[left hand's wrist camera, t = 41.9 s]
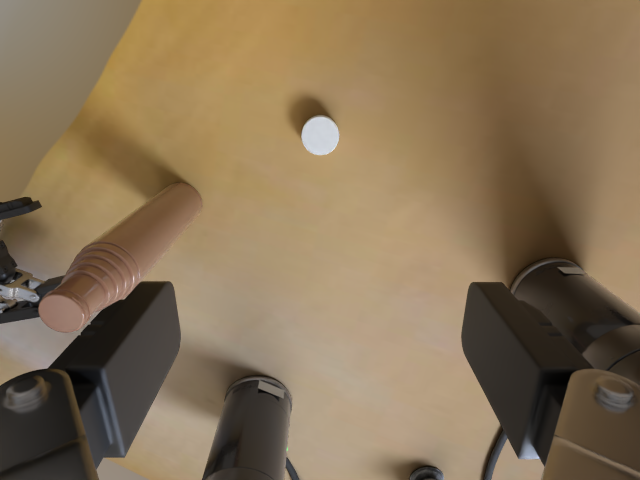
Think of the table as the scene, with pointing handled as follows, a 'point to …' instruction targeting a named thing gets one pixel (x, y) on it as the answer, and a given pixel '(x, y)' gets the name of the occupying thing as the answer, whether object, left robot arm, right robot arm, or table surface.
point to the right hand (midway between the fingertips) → (56, 244)
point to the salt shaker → (427, 474)
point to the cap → (320, 135)
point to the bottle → (120, 258)
